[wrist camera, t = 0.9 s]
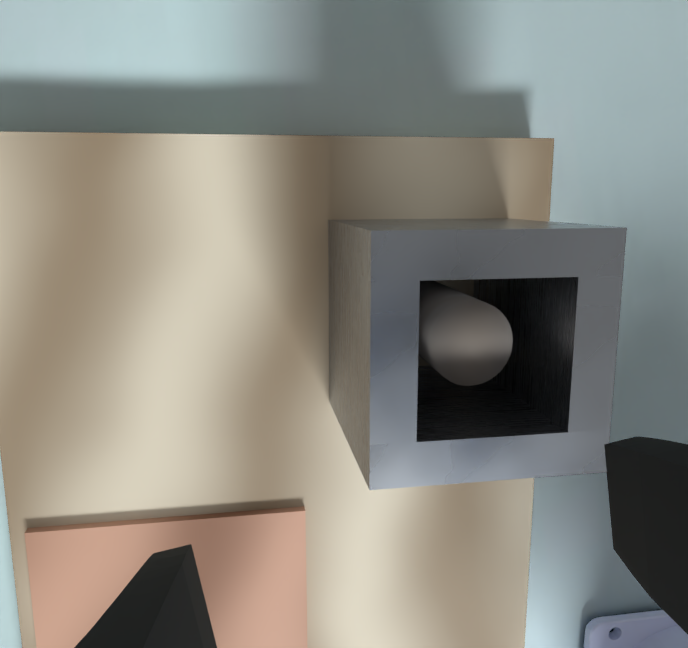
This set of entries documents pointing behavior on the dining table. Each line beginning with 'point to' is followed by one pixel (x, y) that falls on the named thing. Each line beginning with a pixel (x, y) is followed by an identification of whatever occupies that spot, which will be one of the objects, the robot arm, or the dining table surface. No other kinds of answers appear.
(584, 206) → the dining table surface
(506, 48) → the dining table surface
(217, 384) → the stand
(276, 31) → the dining table surface
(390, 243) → the collar
